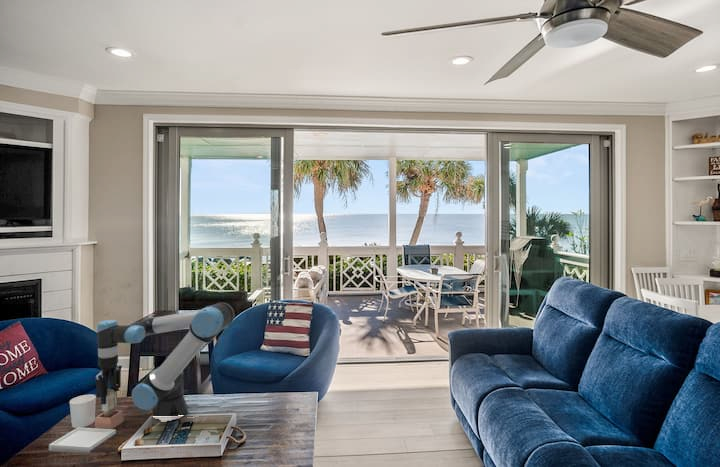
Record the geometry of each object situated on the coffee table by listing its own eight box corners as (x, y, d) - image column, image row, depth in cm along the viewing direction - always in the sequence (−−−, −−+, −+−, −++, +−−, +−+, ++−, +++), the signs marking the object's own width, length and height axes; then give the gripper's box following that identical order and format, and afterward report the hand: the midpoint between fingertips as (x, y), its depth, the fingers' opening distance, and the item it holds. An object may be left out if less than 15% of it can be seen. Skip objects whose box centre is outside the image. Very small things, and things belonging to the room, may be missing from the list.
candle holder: (83, 431, 175) (82, 404, 174) (64, 429, 177) (63, 402, 176) (101, 421, 184) (101, 395, 184) (83, 419, 186) (83, 393, 186)
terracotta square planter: (123, 423, 181) (123, 410, 181) (111, 432, 174) (110, 418, 174) (108, 422, 182) (108, 409, 182) (95, 431, 175) (94, 417, 175)
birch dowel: (117, 422, 180) (116, 389, 180) (110, 426, 176) (109, 392, 176) (109, 422, 180) (108, 388, 180) (102, 426, 176) (101, 392, 176)
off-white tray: (116, 435, 171) (116, 429, 171) (89, 453, 157) (89, 447, 157) (78, 433, 173) (78, 427, 173) (49, 450, 160) (48, 444, 160)
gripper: (114, 349, 187) (115, 400, 187) (84, 362, 170) (86, 417, 170) (129, 350, 186) (130, 400, 186) (100, 362, 169) (102, 417, 169)
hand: (109, 408), depth 178 cm, fingers closed on birch dowel, 4 cm apart
